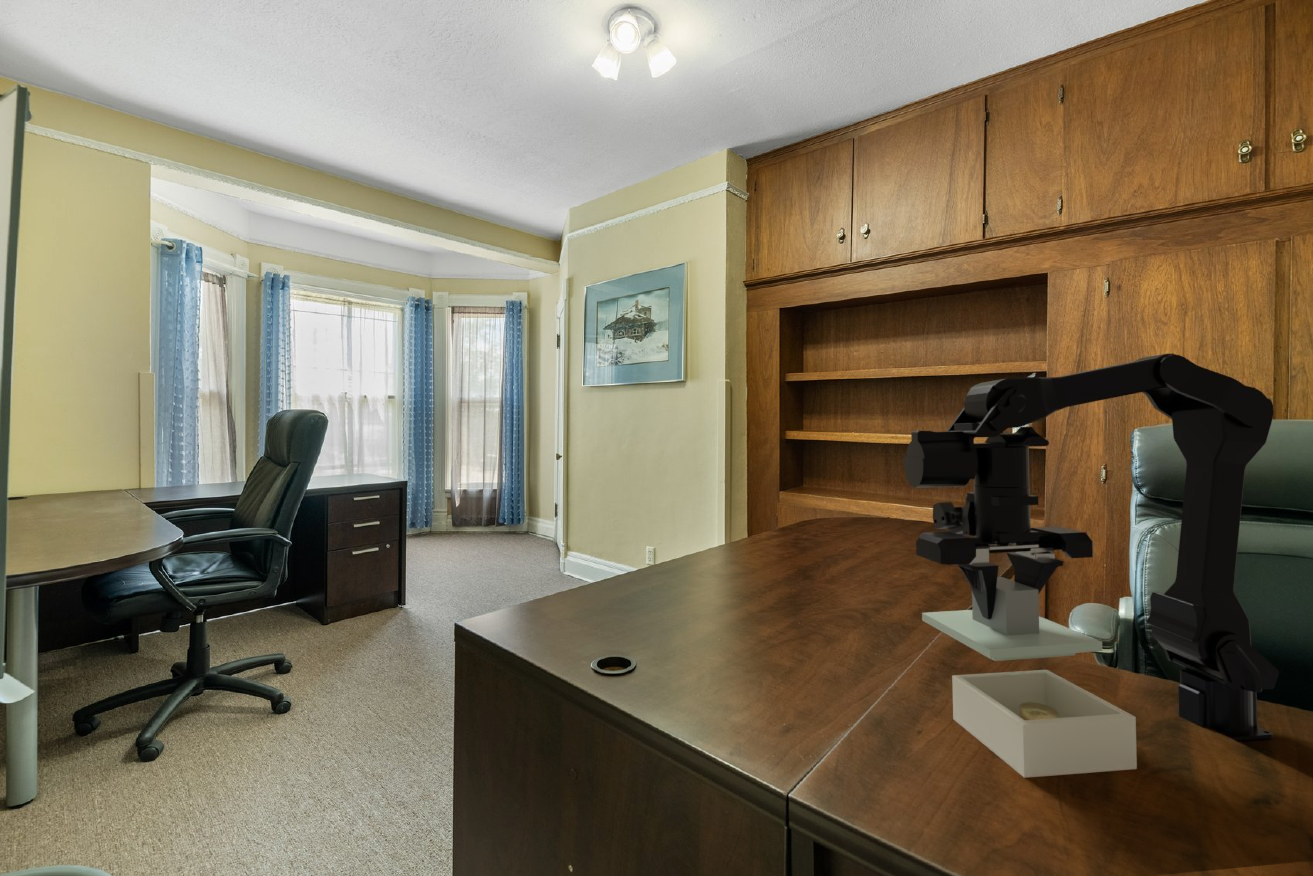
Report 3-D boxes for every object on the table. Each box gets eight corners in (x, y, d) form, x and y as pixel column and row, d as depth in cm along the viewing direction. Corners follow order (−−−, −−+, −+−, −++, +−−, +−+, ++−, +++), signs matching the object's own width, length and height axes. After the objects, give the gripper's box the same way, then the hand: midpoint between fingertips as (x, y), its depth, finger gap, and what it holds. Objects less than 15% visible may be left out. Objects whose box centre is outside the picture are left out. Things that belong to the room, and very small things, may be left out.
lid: (1016, 622, 76) (1015, 568, 76) (1102, 660, 63) (1101, 595, 63) (922, 628, 75) (921, 573, 75) (990, 668, 62) (988, 602, 62)
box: (1047, 719, 71) (1046, 669, 71) (1136, 776, 59) (1135, 717, 59) (953, 725, 70) (952, 675, 70) (1024, 785, 58) (1023, 724, 58)
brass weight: (1042, 727, 67) (1041, 701, 67) (1066, 743, 64) (1066, 716, 64) (1012, 729, 67) (1012, 703, 67) (1035, 745, 64) (1034, 718, 64)
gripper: (1024, 478, 78) (1027, 594, 78) (891, 483, 76) (894, 602, 76) (1095, 485, 67) (1098, 621, 67) (941, 491, 65) (945, 630, 65)
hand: (1004, 617), depth 69 cm, fingers closed on lid, 4 cm apart
